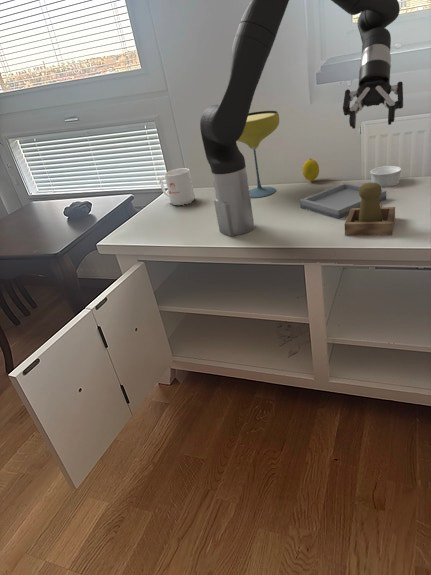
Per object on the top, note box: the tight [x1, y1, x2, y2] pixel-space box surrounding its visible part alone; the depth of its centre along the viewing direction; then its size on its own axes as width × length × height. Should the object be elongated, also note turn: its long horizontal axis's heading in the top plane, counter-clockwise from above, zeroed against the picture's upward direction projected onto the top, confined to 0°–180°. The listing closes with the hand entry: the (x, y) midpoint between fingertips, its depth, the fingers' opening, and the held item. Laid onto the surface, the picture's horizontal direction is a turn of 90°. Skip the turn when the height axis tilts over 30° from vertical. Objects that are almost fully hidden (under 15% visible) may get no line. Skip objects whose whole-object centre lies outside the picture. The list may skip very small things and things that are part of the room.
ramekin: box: [369, 165, 402, 188], centre depth 134 cm, size 9×9×4 cm
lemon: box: [302, 158, 320, 182], centre depth 148 cm, size 6×6×8 cm
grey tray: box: [299, 182, 387, 220], centre depth 125 cm, size 18×16×2 cm
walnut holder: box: [344, 206, 396, 236], centre depth 108 cm, size 11×11×3 cm
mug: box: [158, 167, 196, 206], centre depth 154 cm, size 12×9×11 cm
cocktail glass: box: [236, 110, 280, 199], centre depth 143 cm, size 18×18×25 cm
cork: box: [357, 182, 384, 222], centre depth 106 cm, size 6×6×11 cm
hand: (371, 124), depth 108 cm, fingers open, 8 cm apart
